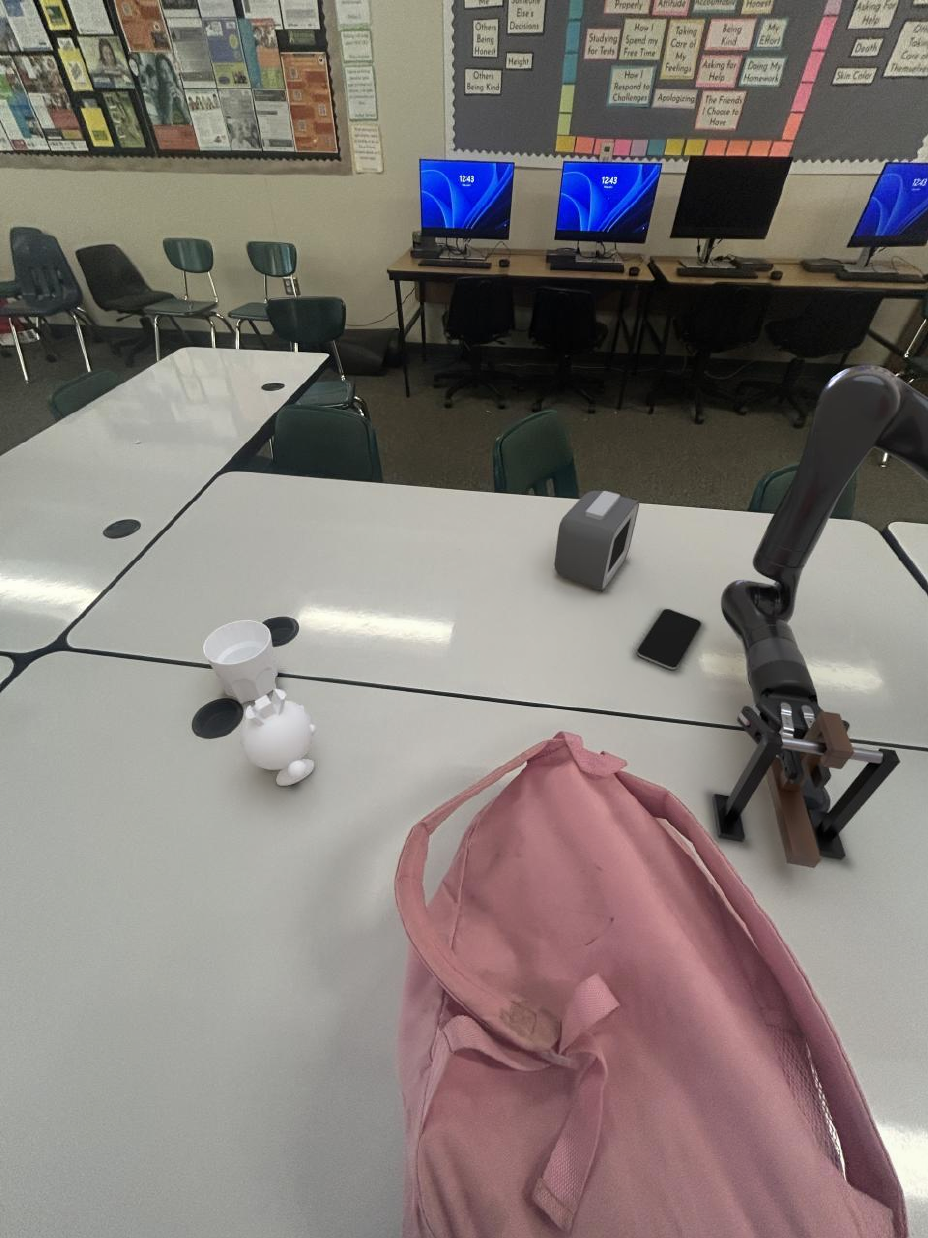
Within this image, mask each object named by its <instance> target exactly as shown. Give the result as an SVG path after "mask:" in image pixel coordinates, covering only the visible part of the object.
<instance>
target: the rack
mask: <svg viewBox="0 0 928 1238" xmlns="http://www.w3.org/2000/svg"><path fill="white" fill-rule="evenodd" d="M762 736H763V737H762V739H761V741H760V742H759V744H758V745H757V746H756V748H755V750H754V751H753V753H752V755H751V757H750V759H749V760H748V761H747V763H746V765H745V767H744V769H743V771H742V773H741V775H740V776H739V777H738V780H737V782H736V783H735V785H734V787H733V789H732V791H731V792H730V794H729V795H725V794H718V793H714V794H713V796H712V803H713V809H714V816H715V823H716V830H717V835H718V838H721V839H724V840H725V839H726V840H731V841H735V842H736V841H737V842H743V841H745V838H746V836H745V831H744V826H743V821H742V814H743V812H744V810H745V808H747V805H748V803H749V802H750V800H751V799H752V797H753V795H754V794H755V792H756V791H757V789H758V788H759V785H760V784H761V782H762V780H763V779H764V777H765V776H766V772H767V771H768V769H769V767H770V766H771V764H772V762H773V761H774V759H775V757H778V756H777V754H778V752H779V751H780V749H786V750H792V751H799V752H805V753H812V754H818V755H823V754H824V753H825V752H826V750H827V746H826V743H822V742H816V741H809V740H802V739H796V738H789V737H782V736H781V733H776V732H769V731H766V732H765V734H764V735H762ZM852 747H853V750H854V754H853V755H852V756H851V758H850V759H849V760H852V761H859V762H864V763H866V764H865V766H864V767H863V769H862V770H861V771H860V772H859V774H857V776H856V777H855V778H854V779H853V781H852V782H851V783H850V785H849V786H848V787H847V789H846V790H845V791H844V792H843V794H842V795H841V796H840V797H839V798H838V799H837V801H836V802H835V804H834V805H833V806H832V807H831V809H830V810H829V811H827V812H826V811H821V810H815V809H807V812H808V816H809V819H810V823H811V826H812V830H813V833H814V837H815V840H816V844H817V847H818V851H819V854H820V857H827V858H833V859H838V860H843V859H844V858H845V857H846V852H845V850H844V846H843V843H842V840H841V837H840V833H841V832H842V830H843V829H844V828H845V827H846V826H847V825H848V824H849V822H850V821H851V820H852V819H853V818H854V817H855V815H856V814H857V813H858V812H859V811H860V810H861V808H862V807H863V806H864V805H865V804H866V803H867V801H869V799H870V798H871V797H872V796H873V794H875V792H876V791H877V790H878V789H879V787H881V785H883V783H884V782H885V780H886V779H887V778H888V777H889V776H890V775H891V773H892V772H893V771H894V770H895V769H896V768H897V767H898V765H899V764H900V763H901V760H900V758H899V756H898V753H897V751H896V749H889V748H883V747H882V748H881V747H880V748H878V749H877V750H876V749H875V750H874V749H869V748H862V747H855V746H852Z"/></svg>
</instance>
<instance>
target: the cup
mask: <svg viewBox="0 0 928 1238" xmlns="http://www.w3.org/2000/svg"><path fill="white" fill-rule="evenodd" d="M272 639H273V638H272V634H271V631H270V628H268V626H267V625H266V624H264V623H262V622H260V621H256V620H252V619H251V620H250V619H243V620H236V621H232V622H229V623H226V624H223V625H222V626H220V627H218V628H216V629H215V630H213V631H212V632H211V633H210V634H209V635H208V636H207V638H206V639H205V641H204V642H203V647H202V651H203V655H204V657H205V658H206V659H207V662H208V664H209V666H210V667H211V669H212V671H213V672H214V674H215V675H216V678H217V679H218V681H219V684H220V685H221V686H222V688H223V690H224V692H225V694H226V696H230V697H233V698H234V699H236V700H237V701H238V702H239V704H243V703H245V702H251V701H256V700H258V699H259V698H261V697H263V696H265V695H268V694H270V692H272V691H274V689H278V688H277V684H276V683H277V682H276V678H277V677H278V675H279V672H278V668H277V664H276V659H275V653H274V647H273V646H274V645H273V641H272Z"/></svg>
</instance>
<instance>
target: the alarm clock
mask: <svg viewBox="0 0 928 1238" xmlns="http://www.w3.org/2000/svg"><path fill="white" fill-rule="evenodd" d="M639 507H640V501H638V500H635V499H632V498H627V497H624V496H621V495H620V494H619V493H615V492H611V491H607V490H603V491H602V490H601V491H600V490H590V491H588V492H586V493H585V494H583V496H582V497H580V498H579V500H577V502H576V503H575V504H574V505H573V506H572V507H571V508H570V509H569V510H568V511H567V512H566V514H565V515H564V516H563V517H562V519H561V521H560V523H559V525H558V529H557V530H558V531H557V538H556V539H557V540H556V548H555V556H554V562H553V567H554V570H555V572H556V573H557V574H558V575H559V576H560V577H562V578H563V579H566V580H570V581H572V582H575V583H577V584H581V585H584V586H587V587H590V588H593V589H596V590H599V591H602V592H604V591H605V590H606V588H607V587H608V586H609V585H610V583H611V581H612V580H613V578H614V577H615V575H616V574H617V573H618V572H619V570H620V568H622V566H623V564H624V563H625V561H626V559H627V556H628V554H629V551H630V548H631V544H632V539H633V535H634V531H635V526H636V521H637V517H638V512H639Z"/></svg>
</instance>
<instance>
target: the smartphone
mask: <svg viewBox="0 0 928 1238" xmlns="http://www.w3.org/2000/svg"><path fill="white" fill-rule="evenodd" d="M701 626H702V622H701V621H700V620H699V619H697V618H694V617H691V616H689V615H686V614H683V613H681V612H678V611H675V610H673V609H670V608H665V609H662V612H661V613H660V615H659V616H658V617H657V619H656V621H655V622H654V623H653V625H652V627H651V628H650V630H649V631H648V633H647V634H646V635H645V637H644V639H643V640H642V642H641V644H640V645H639V646H638V648H637V650H636V655H638V656H639V657H640V658H643V659H645V660H648V661H649V662H652V663H655V664H657V665H660V666H663V667H664V668H666V669H668V670H676V669H678V667H679V665H680V663H682V660H683V659H684V657H685V655H686V653H687V652H688V650H689V648H690V646H691V644H692V642H693V640H694V639H695V637H696V635H697V634H698V632H699V630H700V628H701Z"/></svg>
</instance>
